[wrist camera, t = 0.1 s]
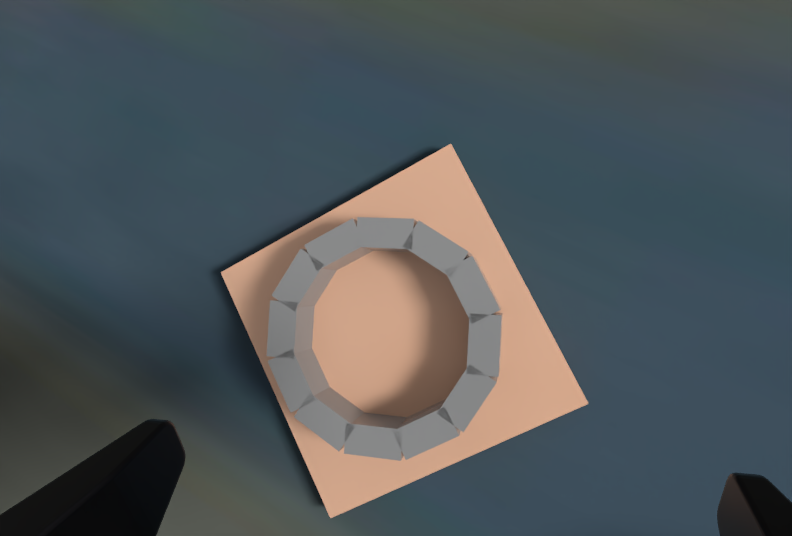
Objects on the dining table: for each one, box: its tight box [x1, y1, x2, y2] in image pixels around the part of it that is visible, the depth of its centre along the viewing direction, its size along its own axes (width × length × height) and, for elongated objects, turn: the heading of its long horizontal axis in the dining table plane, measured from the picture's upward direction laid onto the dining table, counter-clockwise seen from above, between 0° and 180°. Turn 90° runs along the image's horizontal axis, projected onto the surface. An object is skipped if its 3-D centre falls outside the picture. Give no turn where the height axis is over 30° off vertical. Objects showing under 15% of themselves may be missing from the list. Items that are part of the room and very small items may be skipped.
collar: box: [221, 144, 588, 518], centre depth 23 cm, size 12×12×3 cm
